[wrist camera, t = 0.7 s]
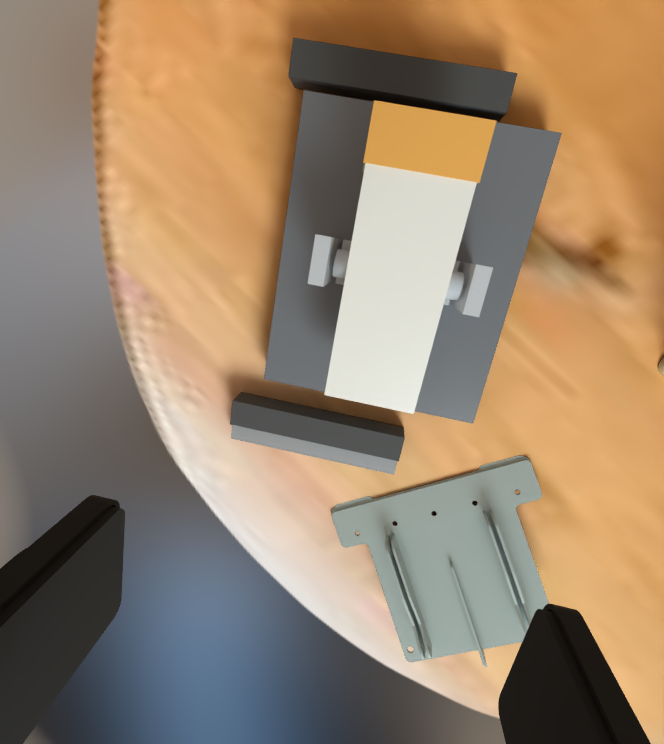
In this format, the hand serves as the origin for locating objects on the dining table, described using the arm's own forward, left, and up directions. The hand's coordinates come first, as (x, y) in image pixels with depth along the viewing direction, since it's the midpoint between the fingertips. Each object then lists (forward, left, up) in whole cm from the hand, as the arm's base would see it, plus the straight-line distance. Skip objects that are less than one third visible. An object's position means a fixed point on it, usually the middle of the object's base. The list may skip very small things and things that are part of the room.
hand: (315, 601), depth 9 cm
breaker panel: (-1, -6, -21) cm, 22 cm away
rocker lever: (-1, -7, -16) cm, 17 cm away
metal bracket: (-10, +14, -22) cm, 27 cm away
